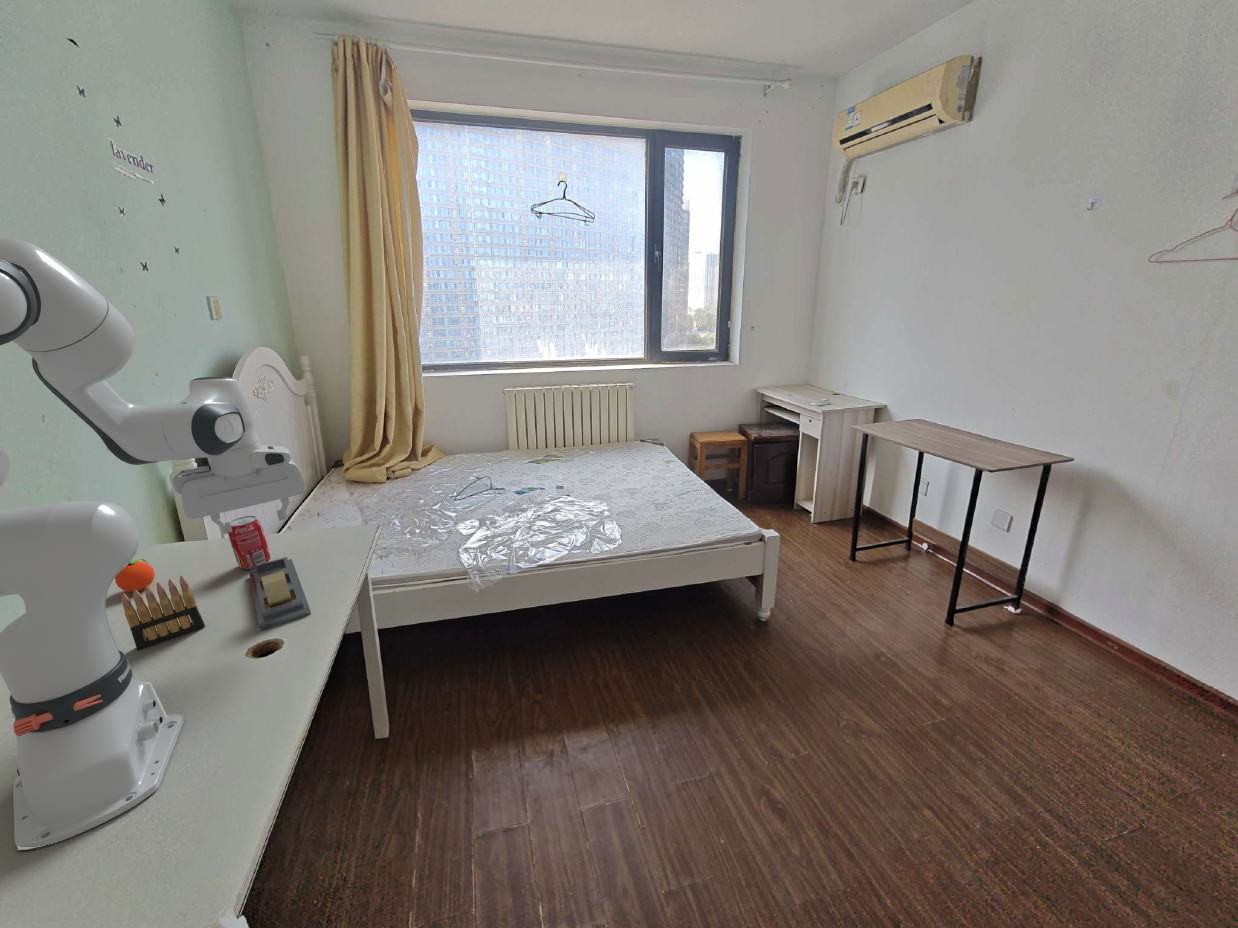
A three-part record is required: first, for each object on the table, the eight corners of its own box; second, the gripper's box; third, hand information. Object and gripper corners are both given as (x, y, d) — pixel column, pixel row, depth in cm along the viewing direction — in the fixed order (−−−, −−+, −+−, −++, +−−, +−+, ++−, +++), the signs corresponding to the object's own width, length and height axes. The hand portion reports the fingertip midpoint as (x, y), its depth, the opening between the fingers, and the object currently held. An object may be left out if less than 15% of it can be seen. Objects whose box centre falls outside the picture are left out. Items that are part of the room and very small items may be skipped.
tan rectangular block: (293, 605, 114) (285, 577, 112) (271, 612, 112) (263, 584, 110) (290, 597, 118) (283, 570, 116) (269, 604, 115) (261, 577, 113)
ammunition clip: (137, 650, 105) (115, 596, 101) (137, 646, 106) (116, 592, 103) (205, 627, 111) (187, 575, 108) (204, 623, 113) (186, 572, 109)
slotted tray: (311, 613, 114) (307, 600, 113) (260, 630, 109) (257, 617, 108) (293, 564, 136) (290, 553, 135) (250, 576, 131) (247, 565, 130)
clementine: (137, 581, 132) (127, 554, 130) (168, 577, 133) (159, 551, 130) (112, 599, 124) (101, 571, 122) (145, 595, 125) (135, 568, 123)
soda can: (253, 557, 141) (241, 514, 137) (278, 557, 140) (266, 514, 136) (231, 570, 134) (217, 526, 130) (257, 571, 133) (244, 526, 129)
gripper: (168, 476, 97) (192, 546, 101) (298, 451, 108) (314, 516, 112) (170, 468, 102) (192, 536, 106) (294, 445, 113) (309, 507, 117)
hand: (256, 525), depth 109 cm, fingers open, 8 cm apart
